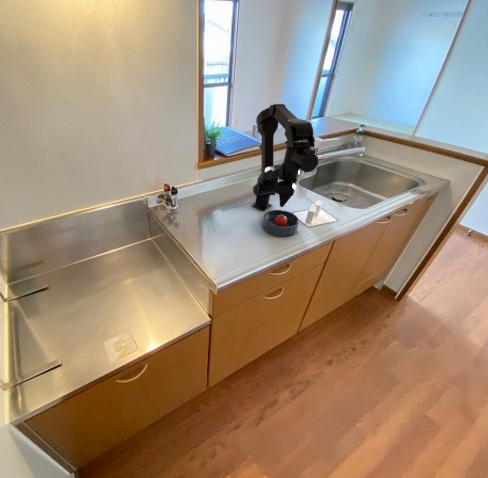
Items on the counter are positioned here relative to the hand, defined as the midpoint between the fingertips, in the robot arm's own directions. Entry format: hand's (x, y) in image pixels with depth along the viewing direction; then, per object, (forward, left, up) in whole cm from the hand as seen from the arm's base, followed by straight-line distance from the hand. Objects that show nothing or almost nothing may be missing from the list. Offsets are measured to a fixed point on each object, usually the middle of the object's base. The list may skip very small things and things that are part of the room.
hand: (283, 201), depth 103 cm
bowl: (0, +1, -12) cm, 12 cm away
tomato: (0, +1, -11) cm, 11 cm away
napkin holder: (-18, +7, -12) cm, 22 cm away
